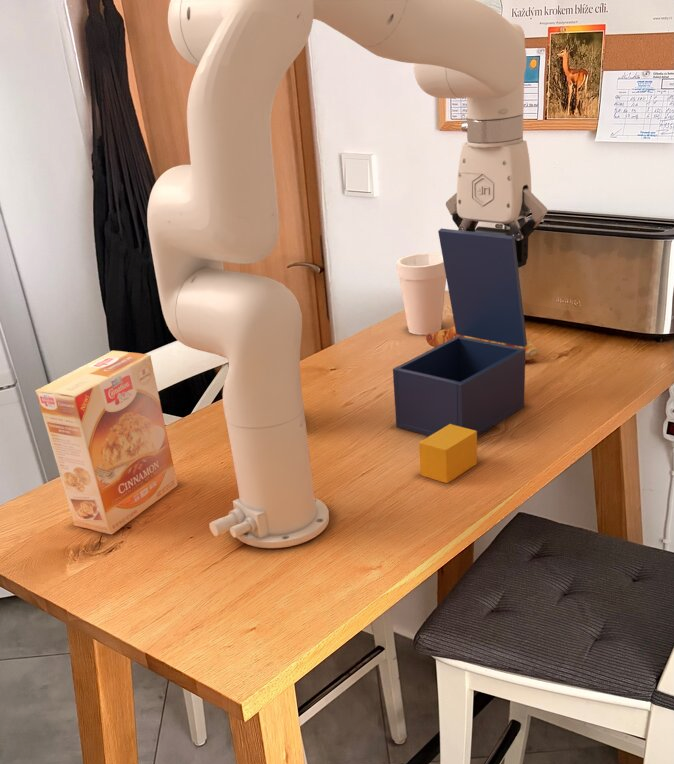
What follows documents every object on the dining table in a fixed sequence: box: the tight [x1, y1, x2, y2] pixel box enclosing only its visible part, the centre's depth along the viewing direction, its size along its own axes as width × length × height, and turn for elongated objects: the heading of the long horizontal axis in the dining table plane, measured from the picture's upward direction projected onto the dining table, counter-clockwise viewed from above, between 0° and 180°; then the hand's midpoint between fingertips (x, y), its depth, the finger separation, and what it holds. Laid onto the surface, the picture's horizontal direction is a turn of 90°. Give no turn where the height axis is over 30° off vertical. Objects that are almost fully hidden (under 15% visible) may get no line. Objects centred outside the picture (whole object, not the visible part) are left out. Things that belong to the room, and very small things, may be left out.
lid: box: [437, 225, 528, 347], centre depth 135 cm, size 17×13×5 cm
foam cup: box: [396, 252, 447, 336], centre depth 172 cm, size 10×9×13 cm
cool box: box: [392, 336, 526, 437], centre depth 138 cm, size 16×13×9 cm
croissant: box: [425, 324, 539, 361], centre depth 160 cm, size 21×10×8 cm, turn 60°
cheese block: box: [418, 424, 478, 484], centre depth 125 cm, size 7×5×5 cm, turn 137°
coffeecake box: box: [35, 349, 179, 536], centre depth 121 cm, size 15×7×20 cm, turn 151°
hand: (494, 262), depth 134 cm, fingers open, 7 cm apart
